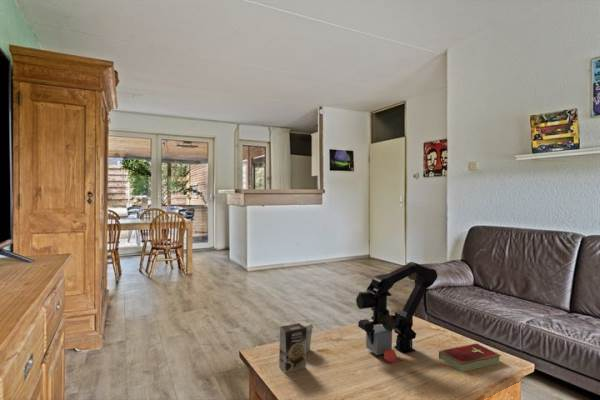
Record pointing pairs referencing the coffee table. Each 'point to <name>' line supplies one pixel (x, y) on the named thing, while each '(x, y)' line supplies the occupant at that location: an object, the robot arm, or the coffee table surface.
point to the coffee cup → (309, 332)
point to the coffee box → (292, 347)
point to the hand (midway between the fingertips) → (379, 342)
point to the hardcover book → (469, 357)
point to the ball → (390, 355)
